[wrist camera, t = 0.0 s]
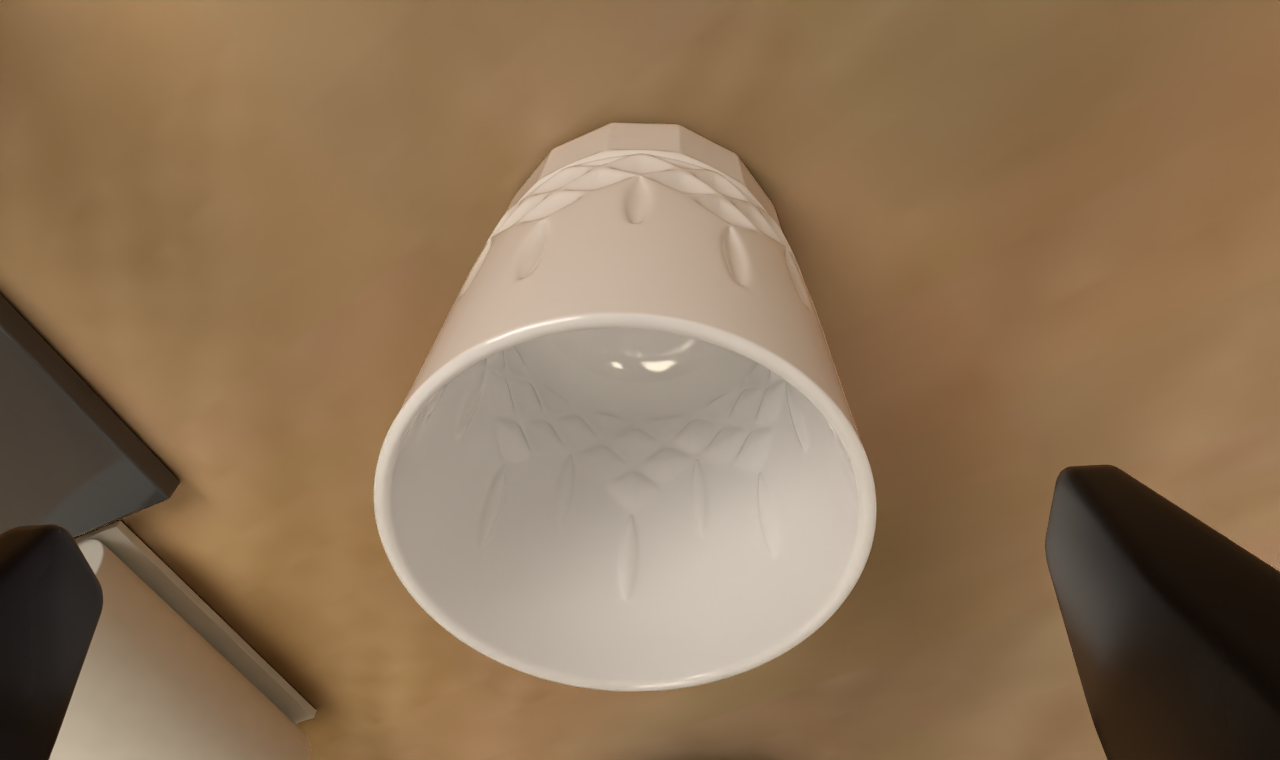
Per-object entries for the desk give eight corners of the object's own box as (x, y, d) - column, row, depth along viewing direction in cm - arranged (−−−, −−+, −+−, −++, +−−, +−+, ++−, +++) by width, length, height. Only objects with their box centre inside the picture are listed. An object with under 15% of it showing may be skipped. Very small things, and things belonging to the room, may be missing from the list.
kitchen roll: (335, 705, 33) (274, 875, 28) (204, 746, 35) (124, 914, 30) (140, 511, 28) (24, 675, 23) (-2, 569, 30) (-140, 735, 25)
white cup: (493, 380, 25) (404, 685, 17) (470, 87, 21) (334, 305, 13) (785, 389, 25) (839, 702, 17) (823, 97, 21) (921, 324, 13)
